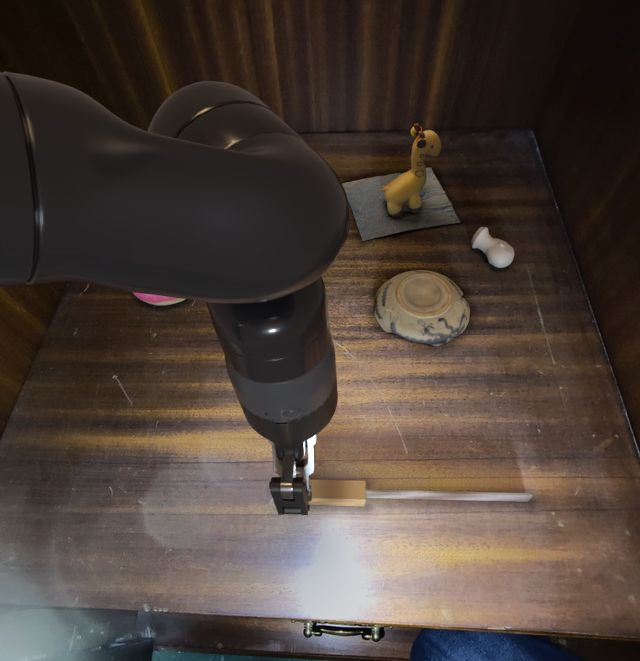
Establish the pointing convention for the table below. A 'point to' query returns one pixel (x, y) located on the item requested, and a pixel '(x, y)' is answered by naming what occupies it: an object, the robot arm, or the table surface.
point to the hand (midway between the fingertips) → (302, 454)
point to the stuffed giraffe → (402, 195)
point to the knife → (393, 494)
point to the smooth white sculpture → (493, 248)
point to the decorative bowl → (422, 307)
